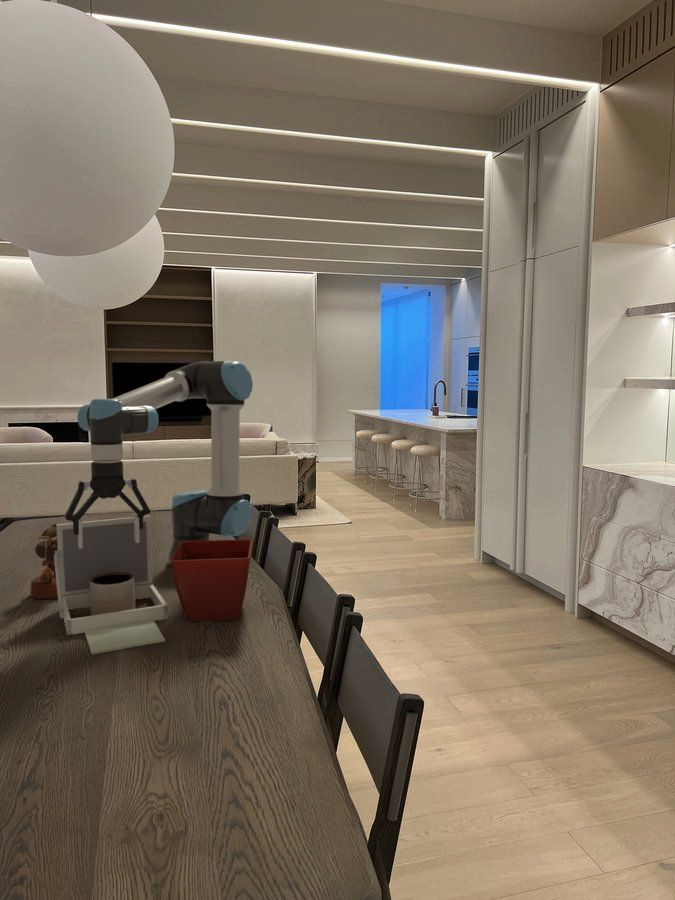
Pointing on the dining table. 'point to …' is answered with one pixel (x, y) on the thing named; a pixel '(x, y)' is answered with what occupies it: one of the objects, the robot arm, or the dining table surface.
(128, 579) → the planter
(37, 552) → the music box
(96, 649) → the mat
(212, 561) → the plant pot
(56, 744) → the dining table surface
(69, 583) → the case
